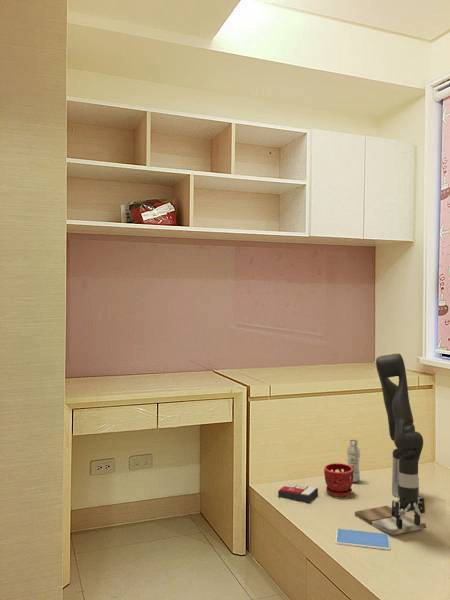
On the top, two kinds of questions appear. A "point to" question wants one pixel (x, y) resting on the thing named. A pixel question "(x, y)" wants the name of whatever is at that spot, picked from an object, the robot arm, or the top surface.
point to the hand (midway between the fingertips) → (408, 526)
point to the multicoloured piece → (298, 492)
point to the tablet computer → (362, 539)
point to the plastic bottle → (354, 459)
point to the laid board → (374, 514)
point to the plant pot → (338, 479)
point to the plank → (391, 527)
